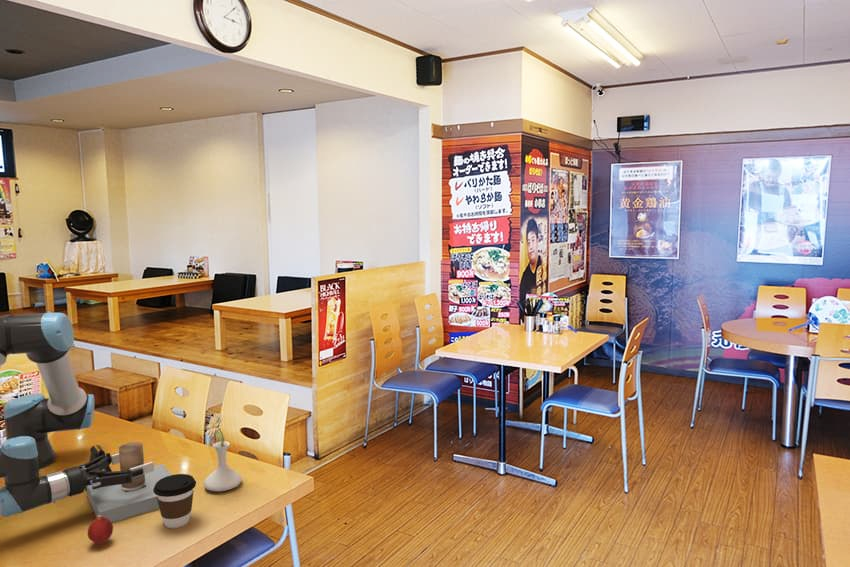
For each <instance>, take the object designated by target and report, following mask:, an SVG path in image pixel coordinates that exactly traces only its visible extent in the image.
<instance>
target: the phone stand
mask: <svg viewBox="0 0 850 567" xmlns="http://www.w3.org/2000/svg"><path fill="white" fill-rule="evenodd" d="M96 447H97V448H98V449H99V451H98V449H97V448H96ZM96 447H95V445H92V446H91V447H90V448H89V449H90V450H89V451H90V457H89V461H91V460H93V459H95V458H97V457H99V456H101V455H106V452H105V451H104V449H103V448H102V447H101V445H99V444H96ZM101 460H102V459H101ZM89 461H88V462H89ZM103 470H106V471H107V472H111V471H113V470H112V469H111V466H110V465H108V466H107V467H106V468H105V469H103ZM84 491H86V492H87V487H85V488H84Z"/></svg>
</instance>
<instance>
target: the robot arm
mask: <svg viewBox="0 0 850 567" xmlns="http://www.w3.org/2000/svg"><path fill="white" fill-rule="evenodd" d="M73 328H74V326H73V324H72V322H71V320H70V317H69V316H68V315H67V314H65V313H63V312H49V311H47V312H39V313H38V312H37V313H21V314H4V315H0V368H1V366H3V365H5V363H6V362H7V356H9V355H18V354H20V355H21V354H25V355H26V357H27V358H28V360H29V361H31V362H32V363H35V364H36V366H37V368H38V371H39V373H40V374H39V375H40V376H41V379H42V381H43V384H44V386H45V389H46V391H47V395H48V397H47V398H46V396H45V394H44V393H30V394H27V395H22V396H20V397H16V398H14V399H12V400H10V401H8V402H7V403H5V405H4V408H3V413H4V414H3V419H4V426H5V428H4V429H5V436H6V437H5V438H6V440H4V441H3V442H2V444H1V447H0V479H1V478H3V480H4V486H2V487H1V488H0V516H2V517H4V518H5V517H9V516H15V515H19V514H23V513H24V512H27V511H31V510H33V509H36V508H39V507H41V506H45V505H48V504H52V503H53V504H55V503H57V502H58V501H61V500H64V499H66V498H67V497H73V496H77V495H80V494H82V493H84V491H85V487H86V486H88V485H92V489H97V488H101V487H106V486H113V485H119V484H126V483H131V482H132V478H134V477H137V476H140V475H143V474H147V473H150V472H153V471H154V466H155V465H154V464H155V463H154V462H153V461H150V462H147V463H144V464H143V465H140V466H137V467H134V468H130V470H129V471H120V470H117V471H116V470H115V471H113V470H112V471H111V472H107V471H106V470H104V469H105V468H106V467H107V466H108V465H109V466H110V465H112V466H113V465H116V464H120V457H119V453H115V454H111V453H109V452H108V453H105V455H101V456H99V457H97V458H95V459H93V460H91V461H88V462H86V463H84V464H81V465H78V466H73V467H70V468H66V469H64V470H63V471H61V470H59V471H56V472H51V473H48V474H46V475H42V476H40V472H39V470H40V469H42V468H45V467H47V466H49V465H51V464H53V463H54V462H55V460H56V458H57V457H56V451H55V449H54V447H53V446H52V443H51V442H50V439H49V436H48V433H55V432H56V433H57V432H66V431H68V432H69V431H76V430H77V431H80V430H84V429H89V428H90V427H91V426H92V425H93V420H94V415H95V414H94V413H95V395H94V394H92V393H91V394H90V393H88V394H87V393H86V391H85V390H84V389H83V388H81V387H79V385H78V382H77V379H76V376H75V372H74V369H73V367H72V364H71V362H70V358H69V356H68V355H69V354H68V353H69V352H70V350H71V349H72V348H73V346H74V343H75V334H74V329H73ZM101 459H102V460H101Z"/></svg>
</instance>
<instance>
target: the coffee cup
mask: <svg viewBox="0 0 850 567" xmlns="http://www.w3.org/2000/svg"><path fill="white" fill-rule="evenodd" d="M196 486H197V481H196V479H195V478H194V477H193V475H190V474H186V473H178V474H177V473H176V474H171V476H167V477H164V478H162V479H160V480H159V481H158V482H156V484H155V486H154V489H153V492H154V493H155V494H156V495H157V501H158V505H159V509H158V510H159V513H160V515H161V517H162V522H163V525H165V527H166V528H168V529H177V528H181V527H184V526H186V525H187V524H189V521H190V519H191V512H192V510H193V509H192V508H193V507H192V506H193V500H194V491H195V490H194V489H195V488H196Z"/></svg>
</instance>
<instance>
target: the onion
mask: <svg viewBox="0 0 850 567" xmlns="http://www.w3.org/2000/svg"><path fill="white" fill-rule="evenodd" d="M113 533H114V524H113V522H112V523H111V521H110V520H109V519H107V518H105V517H102V516H101V515H98V516H97V517H96V516H95V519H94V520H92V522H90V524H89V525H88V529H87V537H88V539H89V540H90V541H91V542H93V543H95V544H98V545H100V546H101V545H103V544H104V543H106V542H107V541H108V540H109V539H110V538H111V537H112V535H113Z"/></svg>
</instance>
